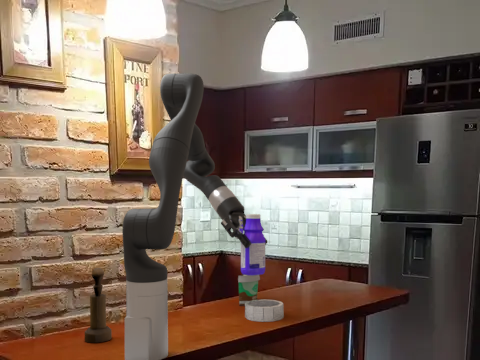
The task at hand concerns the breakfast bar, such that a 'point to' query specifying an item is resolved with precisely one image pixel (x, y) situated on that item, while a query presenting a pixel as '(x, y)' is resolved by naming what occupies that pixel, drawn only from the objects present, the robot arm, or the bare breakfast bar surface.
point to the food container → (248, 288)
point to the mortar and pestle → (98, 312)
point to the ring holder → (264, 310)
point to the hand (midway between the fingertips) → (257, 245)
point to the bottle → (253, 247)
